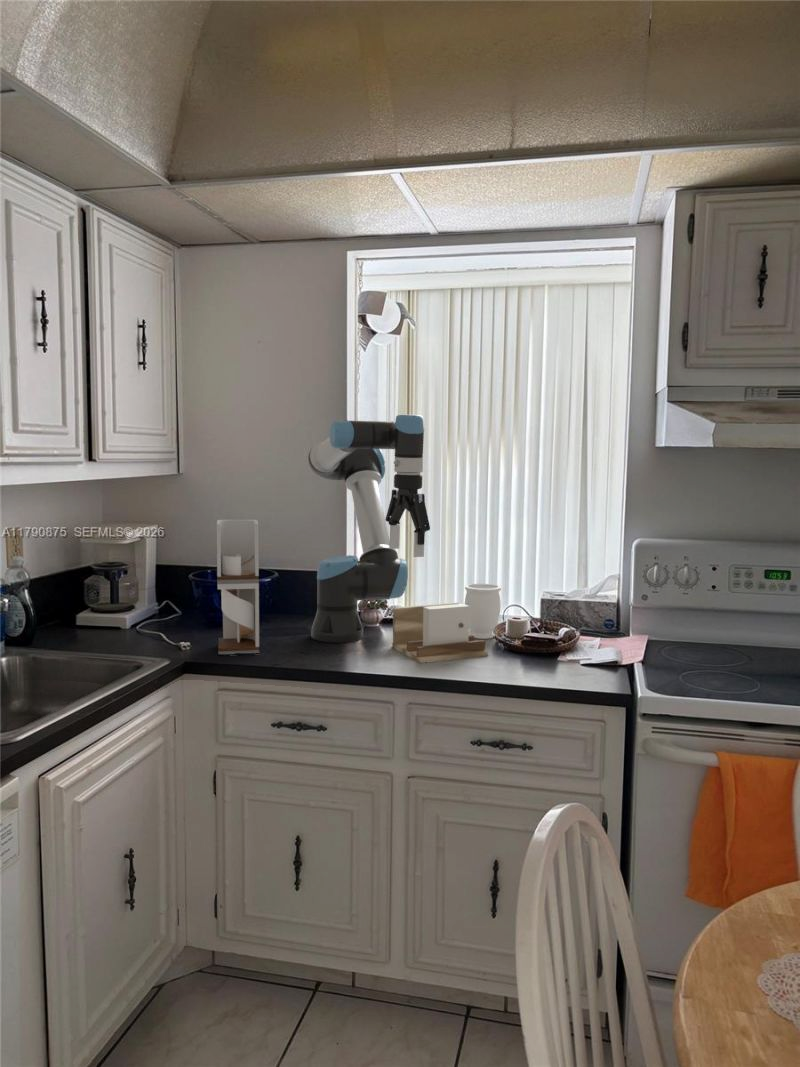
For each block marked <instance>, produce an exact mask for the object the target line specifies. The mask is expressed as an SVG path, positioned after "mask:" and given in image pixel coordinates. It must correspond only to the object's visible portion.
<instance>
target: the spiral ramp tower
mask: <svg viewBox="0 0 800 1067" xmlns="http://www.w3.org/2000/svg"><path fill="white" fill-rule="evenodd" d="M258 521H259V520H258V519H217V521H216V562H217V563H216V566H217V567H216V576H217V579H216V580H217V582H216V584H217V590H220V594H221V596H220V597H221V600H220V601H221V611H222V637H219V638H218V647H217V648H218V649H217V652H218V653H217V654H235V653H259V654H260V598H259V597H260V590H259V589H260V580H259V576H260V575H259V571H260V569H259V568H260V566H259V563H260V562H259V559H260V558H259V556H260V555H259V554H260V552H259V546H260V545H259V522H258Z"/></svg>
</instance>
